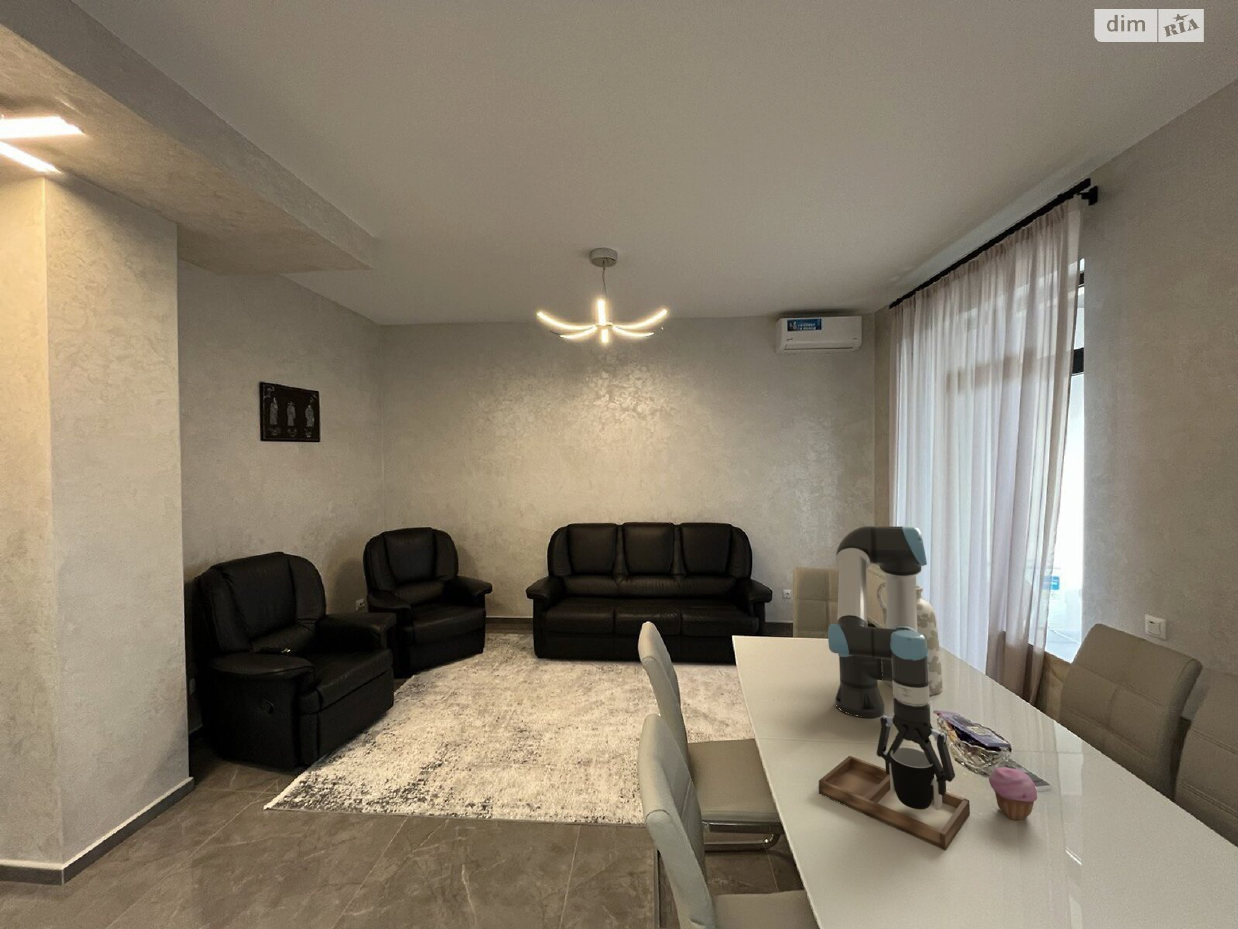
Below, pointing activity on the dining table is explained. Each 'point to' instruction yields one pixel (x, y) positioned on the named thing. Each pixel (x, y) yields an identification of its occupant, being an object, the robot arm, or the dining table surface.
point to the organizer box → (893, 802)
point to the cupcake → (1013, 792)
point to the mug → (912, 777)
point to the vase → (929, 630)
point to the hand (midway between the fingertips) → (915, 798)
